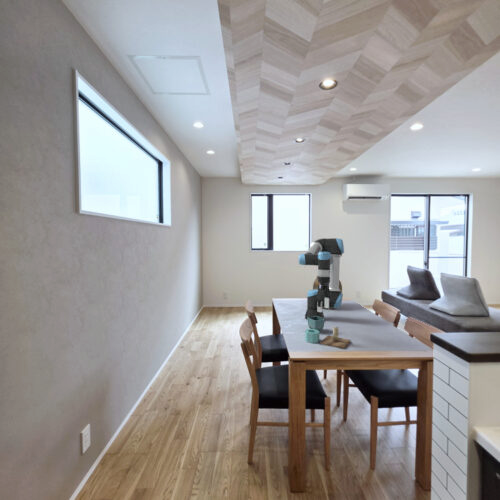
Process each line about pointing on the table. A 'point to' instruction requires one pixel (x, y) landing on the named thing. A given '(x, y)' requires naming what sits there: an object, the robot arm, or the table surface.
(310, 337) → the ring
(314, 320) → the flower pot
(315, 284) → the vase
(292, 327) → the table surface
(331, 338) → the post stand
